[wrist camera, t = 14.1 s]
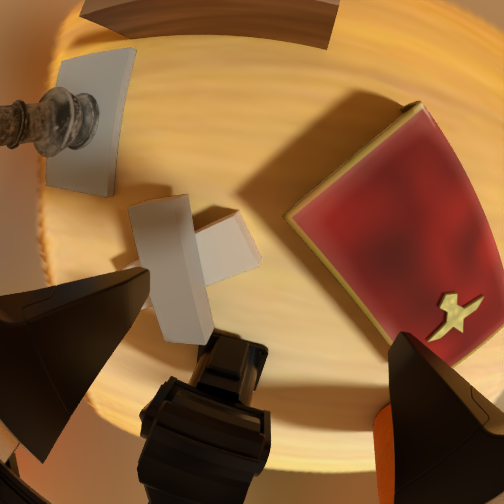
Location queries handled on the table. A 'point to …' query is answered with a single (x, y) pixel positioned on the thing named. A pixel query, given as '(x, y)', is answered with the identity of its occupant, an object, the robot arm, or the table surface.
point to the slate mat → (110, 117)
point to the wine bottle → (384, 455)
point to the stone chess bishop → (51, 122)
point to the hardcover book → (409, 239)
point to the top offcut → (173, 268)
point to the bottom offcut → (221, 250)
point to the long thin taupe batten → (218, 18)
